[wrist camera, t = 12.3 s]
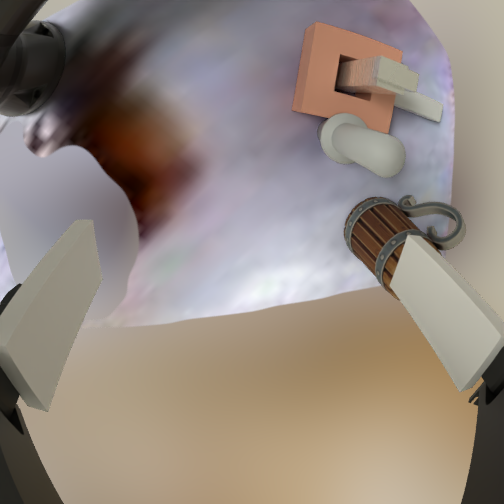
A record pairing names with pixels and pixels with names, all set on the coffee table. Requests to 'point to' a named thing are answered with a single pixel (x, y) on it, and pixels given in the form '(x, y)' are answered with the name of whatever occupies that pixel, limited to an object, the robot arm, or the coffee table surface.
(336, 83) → the wedge pin
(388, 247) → the mug
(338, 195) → the coffee table surface
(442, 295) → the robot arm
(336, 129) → the square hole peg fixture
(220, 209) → the coffee table surface
